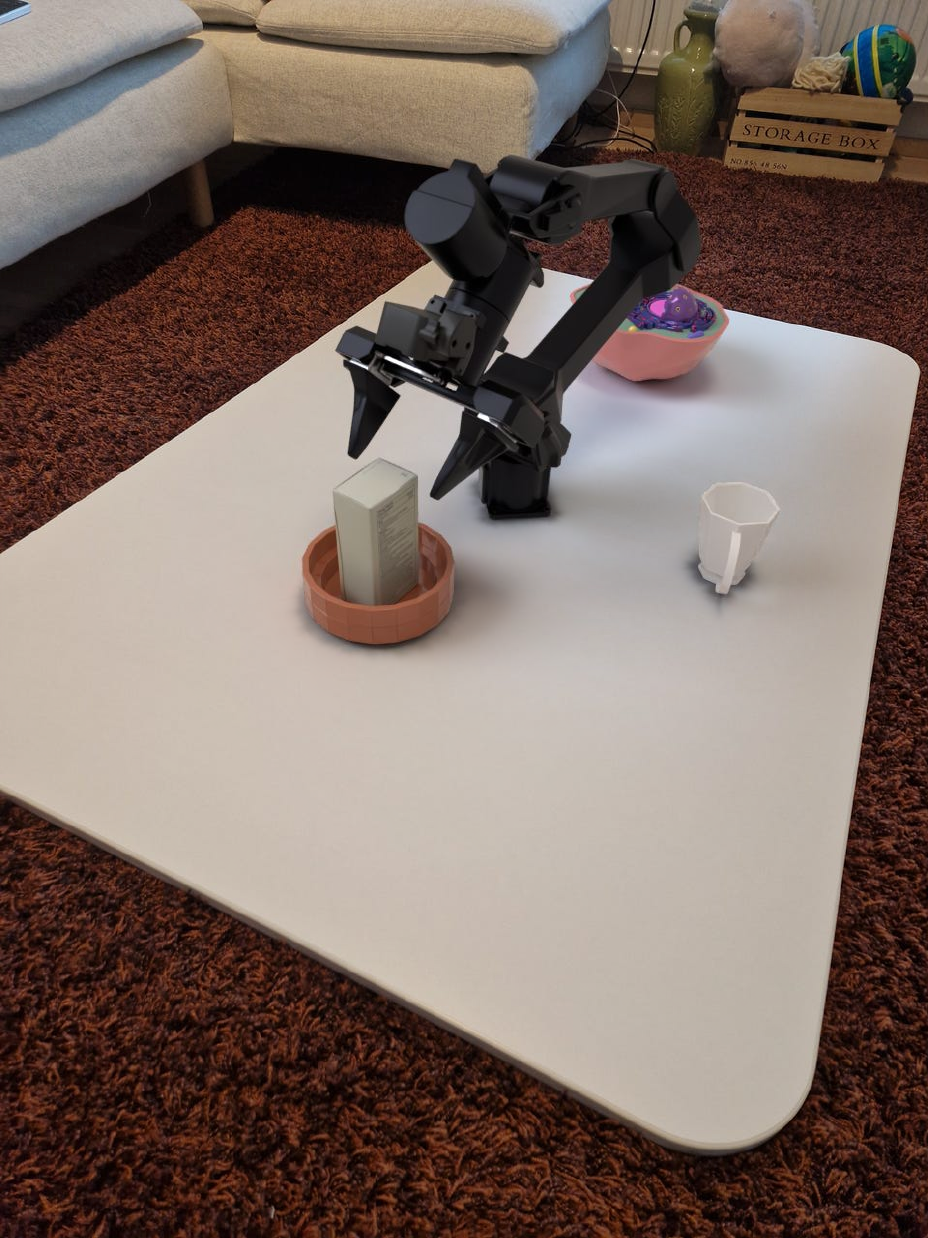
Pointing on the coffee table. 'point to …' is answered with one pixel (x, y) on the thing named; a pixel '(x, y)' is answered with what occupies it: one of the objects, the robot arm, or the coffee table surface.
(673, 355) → the cell model
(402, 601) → the terracotta bowl
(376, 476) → the cosmetic box
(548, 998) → the coffee table surface
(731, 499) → the cup
